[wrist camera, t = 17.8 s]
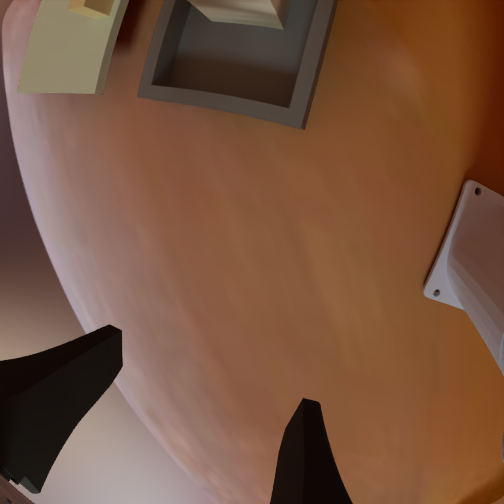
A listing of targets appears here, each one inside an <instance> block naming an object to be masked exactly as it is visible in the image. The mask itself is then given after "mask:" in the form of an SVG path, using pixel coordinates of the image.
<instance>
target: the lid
mask: <svg viewBox="0 0 504 504" xmlns="http://www.w3.org/2000/svg"><path fill="white" fill-rule="evenodd" d="M128 2H129V0H42V1H41V4H40V7H39V10H38V13H37V16H36V19H35V22H34V25H33V28H32V31H31V34H30V38H29V41H28V45H27V49H26V53H25V57H24V61H23V65H22V70H21V74H20V79H19V84H18V90H17V94H27V93H85V94H103V91H104V86H105V82H106V78H107V73H108V69H109V65H110V61H111V57H112V54H113V50H114V46H115V43H116V39H117V36H118V33H119V29H120V26H121V23H122V20H123V17H124V14H125V11H126V8H127V5H128Z"/></svg>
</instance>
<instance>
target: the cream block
mask: <svg viewBox="0 0 504 504" xmlns="http://www.w3.org/2000/svg"><path fill="white" fill-rule="evenodd" d="M188 1H189V2H190V3H191V4H192V5H194V6H195V7H196V8H197V9H198V10H200V11H201V12H202V13H203V14H204V15H205V16H206V17H208V18H209V19H210V20H211V21H215V22H228V23H239V24H248V25H256V26H263V27H270V28H276V29H282V30H284V28H285V24H286V21H287V17H288V13H289V10H290V6H291V3H292V0H188Z"/></svg>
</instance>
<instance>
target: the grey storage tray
mask: <svg viewBox="0 0 504 504" xmlns="http://www.w3.org/2000/svg"><path fill="white" fill-rule="evenodd" d="M337 2H338V0H292V3H291V6H290V10H289V13H288V17H287V21H286V24H285V28H284V30H282V29H276V28H270V27H263V26H256V25H248V24H239V23H228V22H215V21H211V20H210V19H209V18H208V17H206V16H205V15H204V14H203V13H202V12H201V11H200V10H198V9H197V8H196V7H195V6H194V5H192V4H191V3H190V2H189V1H188V0H164V3H163V6H162V9H161V12H160V15H159V18H158V21H157V24H156V27H155V30H154V34H153V37H152V40H151V44H150V47H149V51H148V54H147V58H146V62H145V66H144V70H143V74H142V78H141V82H140V86H139V91H138V95H137V97H140V98H146V99H152V100H158V101H166V102H173V103H180V104H187V105H193V106H199V107H205V108H211V109H216V110H221V111H226V112H231V113H236V114H241V115H246V116H250V117H255V118H259V119H263V120H268V121H272V122H276V123H280V124H284V125H288V126H291V127H295V128H299V129H302V130H305V127H306V123H307V119H308V115H309V112H310V108H311V104H312V100H313V97H314V93H315V89H316V85H317V81H318V77H319V74H320V70H321V66H322V62H323V58H324V54H325V50H326V46H327V42H328V38H329V34H330V30H331V26H332V22H333V18H334V14H335V10H336V6H337Z"/></svg>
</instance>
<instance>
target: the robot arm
mask: <svg viewBox="0 0 504 504" xmlns="http://www.w3.org/2000/svg"><path fill="white" fill-rule="evenodd" d="M477 187H478V189H479V193H478V194H477V195H476V194H475V189H476V188H477ZM437 289H438V290H439V291H438V292H437V293H436V294H433V292H434V291H435V290H437ZM423 293H424V295H425V296H426V297H428V298H431V299H434V300H437V301H440V302H443V303H446V304H449V305H452V306H454V307H457V308H460V309H463V310H465V311H466V313H467V314H468V316H469V317H470V319H471V320H472V322H473V324H474V325H475V327H476V328H477V330H478V332H479V333H480V335H481V337H482V338H483V340H484V342H485V343H486V345H487V347H488V348H489V350H490V352H491V354H492V355H493V357H494V359H495V361H496V363H497V364H498V366H499V368H500V370H501V372H502V374H503V376H504V197H503V196H501V195H500V194H498V193H496V192H494V191H492V190H491V189H489V188H487V187H485V186H483V185H481V184H479V183H477V182H476V181H473V180H467V181H466V182H465V183H464V185H463V188H462V191H461V195H460V198H459V200H458V203H457V206H456V209H455V212H454V215H453V217H452V220H451V223H450V226H449V228H448V231H447V233H446V236H445V238H444V241H443V243H442V246H441V248H440V251H439V253H438V255H437V258H436V260H435V262H434V264H433V267H432V269H431V271H430V273H429V275H428V278H427V280H426V282H425V284H424V286H423ZM122 367H123V359H122V330H120V329H118V328H116V327H114V326H112V325H110V324H109V325H107V326H104V327H102V328H100V329H97V330H95V331H93V332H91V333H88V334H86V335H84V336H81V337H79V338H77V339H74V340H72V341H69V342H67V343H65V344H62V345H59V346H57V347H54V348H51V349H48V350H45V351H42V352H39V353H36V354H32V355H29V356H24V357H20V358H16V359H9V360H3V361H0V504H12V503H13V504H34V503H33V502H32V501H31V500H29V499H28V498H27V497H26V496H24V495H23V494H22V493H21V492H20V491H18V490H17V489H16V488H15V487H14V486H13V485H12V484H10V483H9V481H10V479H11V480H12V481H13V482H14V483H15V484H17V485H18V484H19V483H20V484H21V485H23V486H24V487H25V488H26V489H27V490H29V491H30V492H31V493H35V494H36V493H40V492H41V489H42V487H43V485H44V482H45V480H46V478H47V476H48V473H49V471H50V469H51V467H52V465H53V464H54V462H55V460H56V458H57V456H58V454H59V452H60V450H61V449H62V447H63V446H64V444H65V442H66V441H67V439H68V438H69V436H70V435H71V433H72V431H73V429H74V428H75V427H76V426H77V424H78V423H79V422H80V420H81V419H82V418H83V417H84V416H85V414H86V413H87V412H88V411H89V410H90V409H91V407H92V406H93V405H94V404H95V403H96V402H97V401H98V399H99V398H100V397H101V396H102V395H103V394H104V392H105V391H106V390H107V389H108V388H109V386H110V385H111V384H112V382H113V381H114V379H115V378H116V376H117V375H118V373H119V372H120V370H121V368H122ZM502 458H503V462H504V434H503V439H502ZM270 504H353V503H352V501H351V499H350V497H349V495H348V493H347V491H346V489H345V486H344V484H343V482H342V479H341V477H340V474H339V472H338V469H337V466H336V463H335V460H334V457H333V454H332V451H331V447H330V444H329V441H328V437H327V433H326V429H325V425H324V420H323V416H322V411H321V405H320V403H319V402H317V401H313V400H309V399H305V398H303V399H302V401H301V402H300V404H299V406H298V408H297V410H296V411H295V413H294V415H293V416H292V418H291V420H290V422H289V423H288V425H287V427H286V428H285V432H284V435H283V439H282V442H281V446H280V450H279V455H278V461H277V467H276V473H275V479H274V485H273V491H272V497H271V501H270Z"/></svg>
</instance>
